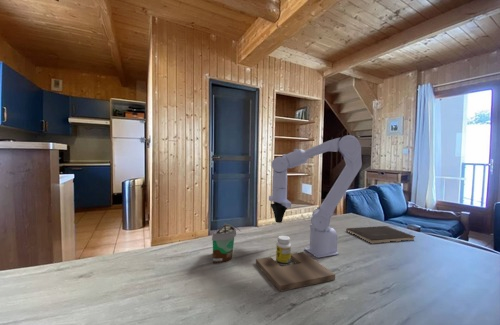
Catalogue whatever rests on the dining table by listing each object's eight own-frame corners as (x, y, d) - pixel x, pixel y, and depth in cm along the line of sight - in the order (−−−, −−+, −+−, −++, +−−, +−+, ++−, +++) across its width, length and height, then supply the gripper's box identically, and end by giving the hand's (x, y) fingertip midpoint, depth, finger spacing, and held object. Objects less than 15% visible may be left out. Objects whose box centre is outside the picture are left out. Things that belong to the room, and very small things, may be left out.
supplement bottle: (274, 259, 76) (275, 234, 76) (288, 259, 77) (289, 235, 76) (277, 266, 72) (278, 239, 71) (291, 266, 72) (292, 240, 72)
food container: (229, 267, 70) (230, 235, 70) (211, 265, 71) (212, 233, 71) (239, 251, 82) (240, 224, 82) (223, 249, 83) (224, 223, 83)
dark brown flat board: (415, 241, 99) (415, 236, 99) (371, 245, 93) (371, 239, 93) (384, 230, 114) (385, 225, 114) (346, 232, 109) (346, 227, 108)
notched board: (302, 256, 79) (302, 252, 79) (335, 279, 64) (335, 274, 64) (255, 263, 73) (256, 259, 73) (279, 291, 58) (279, 285, 58)
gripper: (262, 185, 93) (261, 218, 93) (279, 190, 79) (278, 228, 80) (277, 185, 96) (276, 216, 96) (296, 190, 82) (295, 226, 82)
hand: (278, 222), depth 88 cm, fingers closed
